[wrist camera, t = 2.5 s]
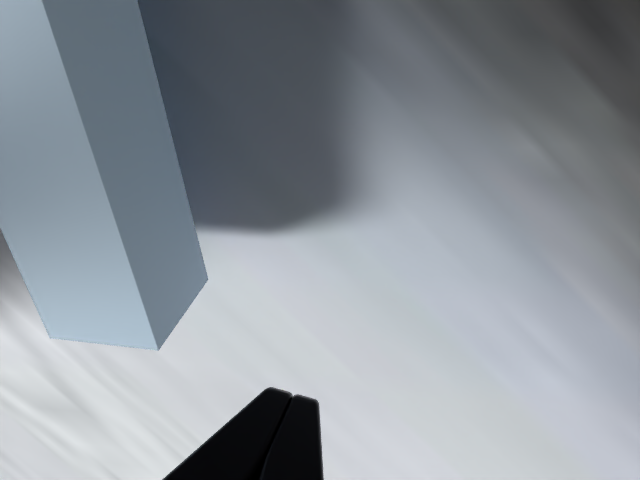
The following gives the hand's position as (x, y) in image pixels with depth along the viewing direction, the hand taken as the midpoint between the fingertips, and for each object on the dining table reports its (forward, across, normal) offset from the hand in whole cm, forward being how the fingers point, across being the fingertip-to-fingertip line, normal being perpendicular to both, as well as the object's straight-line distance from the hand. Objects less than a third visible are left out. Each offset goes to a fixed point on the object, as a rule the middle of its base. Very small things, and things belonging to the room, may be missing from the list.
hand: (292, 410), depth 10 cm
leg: (+6, +6, -2) cm, 9 cm away
